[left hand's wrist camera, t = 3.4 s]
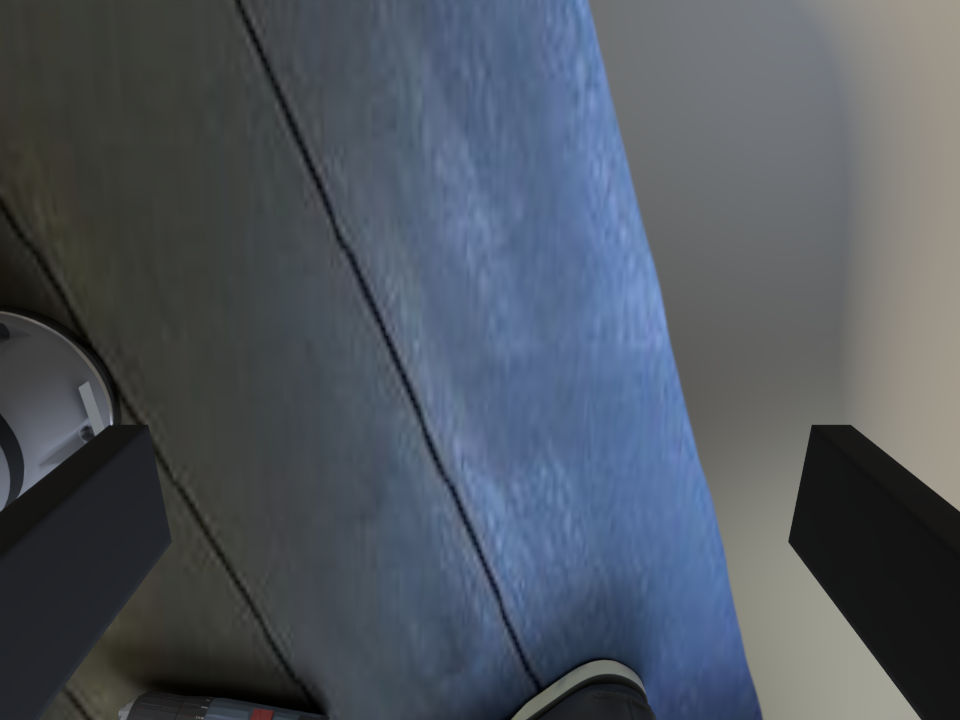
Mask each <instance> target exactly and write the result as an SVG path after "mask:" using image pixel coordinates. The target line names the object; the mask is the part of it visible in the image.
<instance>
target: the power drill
mask: <svg viewBox="0 0 960 720" xmlns="http://www.w3.org/2000/svg"><path fill="white" fill-rule="evenodd" d="M118 715H120V717H119V719H120V720H330V718H329V717H327V716H325V715H319V714H312V713H306V712H301V711H295V710H290V709H284V708H279V707H273V706H267V705H262V704H256V703H250V702H245V701H239V700H234V699H228V698H213V697H206V696H182V695H177V694H171V693H163V692H155V691H148V692H146V693H144V694H142V695H140V696H139V697H137V698H135V699H132V700H130V701H129V702H128V704H127V705H124V708H121V709H120V711H119V714H118Z"/></svg>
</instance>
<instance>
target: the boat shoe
mask: <svg viewBox="0 0 960 720" xmlns="http://www.w3.org/2000/svg"><path fill="white" fill-rule="evenodd" d="M512 720H656V717H655V715H654V713H653V712H652V710H651V707H650V706H649V705H648V699H647V696H646V693H645V690H644V686H643V684H642V681H641V680H640V678H639V677H638V676H637V675H636V674H635V672H633V671H632V670H631V669H630V668H628V667H626V666H625V665H622V664H620V663H618V662H616V661H610V660H600V661H594V662H590V663H587V664H585V665H583V666H580V667H578V668H576V669H575V670H573V671H572V672H570V673H569V674H567V675H566V676H564V677H563V678H561V679H560V680H558V681H557V682H555V683H554V684H553V685H551V686H550V687H549V688H547V689H546V690H544V691H543V692H542V693H540V694H539V695H537V696H536V697H534V698H533V699H532V700H530V701H529V702H528V703H526V704H525V705H524V706H523V708H522V709H521V710H520V711H519V712H518V713H517V714H516V715H515V716H514V717H513V718H512Z"/></svg>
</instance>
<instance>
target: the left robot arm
mask: <svg viewBox="0 0 960 720" xmlns="http://www.w3.org/2000/svg"><path fill="white" fill-rule="evenodd" d="M171 542H172V541H171V536H170V531H169V526H168V521H167V516H166V511H165V506H164V501H163V496H162V491H161V486H160V481H159V476H158V471H157V466H156V462H155V457H154V452H153V447H152V442H151V437H150V432H149V427H148V425H120V405H119V400H118V396H117V392H116V389H115V387H114V384H113V382H112V379H111V377H110V376H109V374H108V372H107V370H106V368H105V367H104V365H103V364H102V362H101V361H100V360H99V358H98V357H97V356H96V355H95V353H94V352H93V351H92V350H91V349H90V348H89V347H88V346H87V345H86V344H85V343H84V342H83V341H82V340H81V339H79V338H78V337H77V336H76V335H75V334H73V333H72V332H70V331H69V330H68V329H66V328H65V327H63V326H61V325H60V324H58V323H56V322H54V321H52V320H50V319H48V318H46V317H44V316H41V315H39V314H36V313H33V312H30V311H26V310H22V309H17V308H12V307H0V720H39V718H40V717H41V716H42V714H43V713H44V712H45V710H46V709H47V708H48V706H49V705H50V704H51V702H52V701H53V700H54V698H55V697H56V696H57V694H58V693H59V692H60V690H61V689H62V688H63V686H64V685H65V684H66V682H67V681H68V680H69V678H70V677H71V676H72V674H73V673H74V672H75V670H76V669H77V668H78V666H79V665H80V664H81V662H82V661H83V660H84V658H85V657H86V656H87V654H88V653H89V652H90V650H91V649H92V648H93V646H94V645H95V644H96V642H97V641H98V640H99V638H100V637H101V636H102V634H103V633H104V632H105V630H106V629H107V628H108V626H109V625H110V624H111V622H112V621H113V620H114V618H115V617H116V616H117V614H118V613H119V612H120V610H121V609H122V608H123V606H124V605H125V604H126V602H127V601H128V600H129V598H130V597H131V596H132V594H133V593H134V592H135V590H136V589H137V588H138V586H139V585H140V584H141V582H142V581H143V580H144V578H145V577H146V576H147V574H148V573H149V572H150V570H151V569H152V568H153V566H154V565H155V564H156V562H157V561H158V560H159V558H160V557H161V556H162V554H163V553H164V552H165V550H166V549H167V547H168V546H169V545H170V543H171ZM788 542H789V543H790V545H791V546H792V547H793V549H794V550H795V552H796V553H797V554H798V556H799V557H800V558H801V559H802V561H803V562H804V564H805V565H806V566H807V568H808V569H809V570H810V571H811V573H812V574H813V576H814V577H815V578H816V579H817V581H818V582H819V584H820V585H821V586H822V588H823V589H824V590H825V592H826V593H827V594H828V596H829V597H830V598H831V600H832V601H833V602H834V604H835V605H836V606H837V608H838V609H839V610H840V612H841V613H842V614H843V616H844V617H845V618H846V620H847V621H848V622H849V624H850V625H851V626H852V628H853V629H854V630H855V632H856V633H857V634H858V636H859V637H860V638H861V640H862V641H863V642H864V644H865V645H866V646H867V648H868V649H869V650H870V652H871V653H872V654H873V656H874V657H875V658H876V660H877V661H878V662H879V664H880V665H881V666H882V668H883V669H884V670H885V672H886V673H887V674H888V676H889V677H890V678H891V680H892V681H893V682H894V684H895V685H896V686H897V688H898V689H899V690H900V692H901V693H902V694H903V696H904V697H905V698H906V700H907V701H908V702H909V704H910V705H911V706H912V708H913V709H914V710H915V712H916V713H917V714H918V716H919V717H920V718H921V720H960V512H959V511H958V510H957V509H956V508H954V507H953V506H952V505H951V504H949V503H948V502H947V501H946V500H944V499H943V498H942V497H941V496H939V495H938V494H937V493H936V492H934V491H933V490H932V489H931V488H929V487H928V486H927V485H926V484H924V483H923V482H922V481H921V480H919V479H918V478H917V477H916V476H914V475H913V474H912V473H910V472H909V471H908V470H907V469H905V468H904V467H903V466H902V465H900V464H899V463H898V462H897V461H895V460H894V459H893V458H892V457H890V456H889V455H888V454H887V453H885V452H884V451H883V450H882V449H880V448H879V447H878V446H876V445H875V444H874V443H873V442H872V441H870V440H869V439H868V438H866V437H865V436H864V435H863V434H861V433H860V432H859V431H858V430H856V429H855V428H854V427H853V426H851V425H812V427H811V432H810V437H809V442H808V447H807V452H806V457H805V462H804V466H803V471H802V476H801V481H800V486H799V491H798V496H797V501H796V506H795V511H794V516H793V521H792V526H791V531H790V536H789V541H788Z"/></svg>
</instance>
